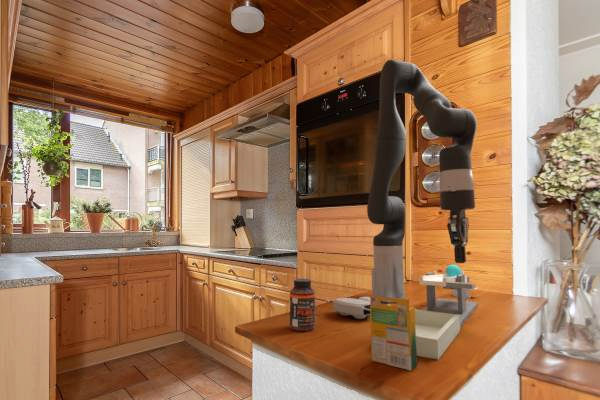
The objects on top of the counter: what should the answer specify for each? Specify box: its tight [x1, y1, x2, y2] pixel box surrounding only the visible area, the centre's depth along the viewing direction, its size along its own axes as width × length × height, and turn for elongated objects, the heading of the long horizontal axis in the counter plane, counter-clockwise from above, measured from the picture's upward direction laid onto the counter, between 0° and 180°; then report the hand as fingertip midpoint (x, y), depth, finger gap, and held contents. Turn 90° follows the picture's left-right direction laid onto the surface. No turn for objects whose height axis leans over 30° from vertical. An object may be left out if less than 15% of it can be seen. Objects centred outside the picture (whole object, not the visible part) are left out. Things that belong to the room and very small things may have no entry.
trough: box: [419, 269, 476, 290], centre depth 92 cm, size 12×26×6 cm, turn 145°
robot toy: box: [326, 296, 391, 320], centre depth 93 cm, size 12×4×15 cm
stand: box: [421, 271, 478, 328], centre depth 93 cm, size 11×27×10 cm, turn 145°
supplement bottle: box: [289, 278, 316, 332], centre depth 82 cm, size 6×6×11 cm
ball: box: [445, 264, 462, 277], centre depth 102 cm, size 4×4×4 cm
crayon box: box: [369, 294, 418, 372], centre depth 61 cm, size 7×3×12 cm, turn 52°
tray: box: [415, 308, 461, 360], centre depth 73 cm, size 12×20×4 cm, turn 145°
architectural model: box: [451, 275, 479, 300], centre depth 114 cm, size 3×7×7 cm, turn 43°
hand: (460, 262), depth 82 cm, fingers closed
